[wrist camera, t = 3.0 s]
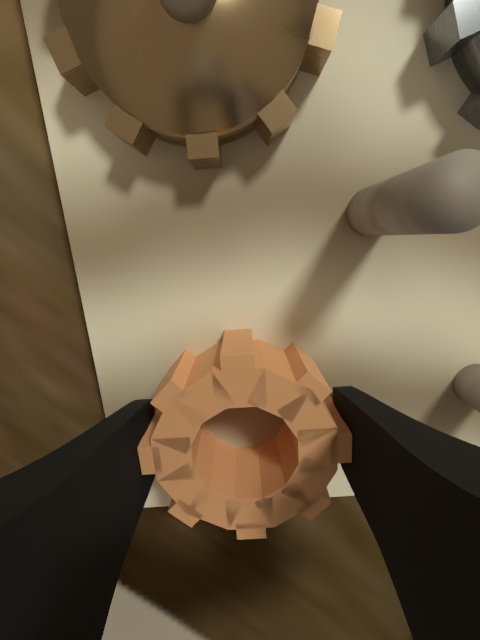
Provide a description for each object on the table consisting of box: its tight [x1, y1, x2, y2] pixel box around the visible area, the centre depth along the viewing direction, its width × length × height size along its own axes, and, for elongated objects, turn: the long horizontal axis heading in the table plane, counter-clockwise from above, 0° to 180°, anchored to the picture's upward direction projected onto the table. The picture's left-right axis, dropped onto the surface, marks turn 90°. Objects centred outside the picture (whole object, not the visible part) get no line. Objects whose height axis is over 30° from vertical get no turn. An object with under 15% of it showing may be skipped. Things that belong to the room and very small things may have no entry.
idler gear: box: [137, 328, 352, 540], centre depth 10 cm, size 6×6×2 cm
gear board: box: [20, 0, 480, 508], centre depth 8 cm, size 20×18×5 cm
